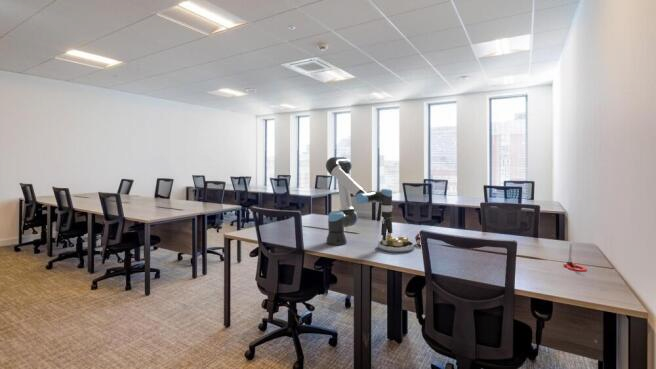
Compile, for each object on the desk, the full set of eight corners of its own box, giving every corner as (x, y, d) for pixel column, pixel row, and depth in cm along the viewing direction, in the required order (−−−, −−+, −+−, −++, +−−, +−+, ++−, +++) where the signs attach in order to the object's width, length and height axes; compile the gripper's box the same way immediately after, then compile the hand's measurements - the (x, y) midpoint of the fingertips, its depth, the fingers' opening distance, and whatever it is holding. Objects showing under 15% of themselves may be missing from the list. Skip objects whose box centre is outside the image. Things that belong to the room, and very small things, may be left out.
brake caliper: (430, 239, 238) (431, 228, 231) (431, 251, 230) (433, 240, 222) (414, 239, 241) (415, 228, 233) (415, 251, 233) (415, 240, 225)
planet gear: (380, 244, 227) (380, 237, 227) (384, 242, 233) (384, 235, 233) (390, 245, 223) (390, 238, 223) (394, 243, 229) (393, 236, 229)
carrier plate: (372, 250, 221) (372, 239, 221) (386, 242, 242) (386, 232, 241) (407, 254, 208) (407, 243, 208) (418, 246, 229) (418, 236, 228)
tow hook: (590, 271, 172) (574, 265, 181) (592, 248, 170) (576, 243, 179) (576, 272, 171) (561, 266, 180) (577, 249, 169) (562, 243, 178)
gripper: (386, 213, 217) (386, 247, 218) (397, 209, 233) (397, 241, 235) (375, 212, 221) (376, 245, 222) (387, 209, 238) (387, 239, 239)
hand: (387, 243), depth 228 cm, fingers closed on planet gear, 7 cm apart
